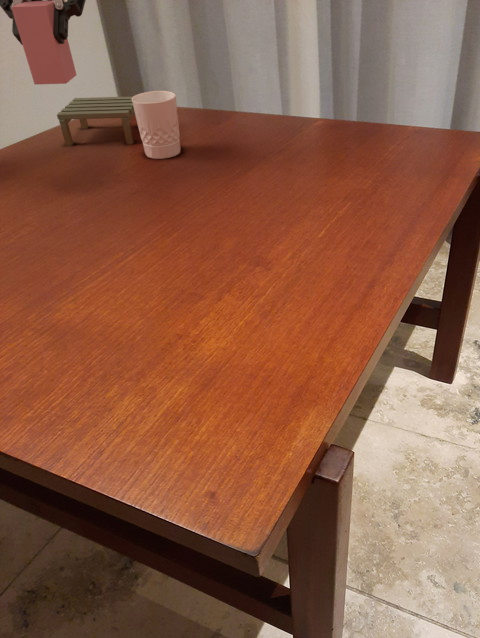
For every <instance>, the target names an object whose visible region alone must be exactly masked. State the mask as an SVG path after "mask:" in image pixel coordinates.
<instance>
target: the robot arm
mask: <svg viewBox="0 0 480 638" xmlns="http://www.w3.org/2000/svg"><path fill="white" fill-rule="evenodd" d="M24 1H25V2H27V1H43V0H0V8H1V9H2V11H3V12H4V13H5V15H6V16H7V17H8V18H9V19H11V20H12V24H11V27H12V28H11V32H12V35H13V36H14V38H16V40H17V41H18V42H19V43H20V46H23V45H22V41H21V38H20V35H19V31H18V28H17V25H16V21H15V18H14V15H13V11H12V8H11V7H12V6H15V5H17V4H20V3H23V2H24ZM53 2H54V5H55V7H56V11H54V24H53V35H54V37H55V39H56V40H57V42H58V43H59V44H64V40H67V39H68V37H69V21H70V19H71V17H74V16H75V17H81V16H82V15H83V11H84V8H85V4H86V0H53Z"/></svg>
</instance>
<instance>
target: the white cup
mask: <svg viewBox="0 0 480 638" xmlns="http://www.w3.org/2000/svg"><path fill="white" fill-rule="evenodd" d="M133 96H134V97H132V103H133V107H134V112H135V115H134V117H135V120H136V124H137V128H138V131H139V136H140V139H141V142H142V146H143V150H144V154H145V156H146V157H147V158H150V159H155V160H157V159H158V160H164V159H170V158H173V157H176V156H178V155H179V154H180V153H181V150H182V148H181V140H180V134H181V133H180V125H179V124H180V123H179V113H178V105H177V95H176V93H174V92H172V91H168V90H152V91H145V92H141V93H137V94H135V95H133Z"/></svg>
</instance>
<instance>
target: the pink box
mask: <svg viewBox="0 0 480 638" xmlns="http://www.w3.org/2000/svg"><path fill="white" fill-rule="evenodd" d="M11 8H12V11H13V15H14V18H15V21H16V25H17V28H18V31H19V35H20V38H21V41H22V45H21V46H22V47H23V51H24V54H25V57H26V61H27V64H28V68H29V71H30V75H31V76H32V80H33V84H34V85H59V84H60V85H61V84H62V85H63V84H64V85H65V84H68V83H69V82H70V81H72V80H73V79H74V78H75V77H76V76H77V71H76V66H75V64H74V60H73V55H72V51H71V47H70V44H69V39H68V38H67V40H64V44H59V43H58V42H57V40H56V39H55V37H54V35H53V24H54V11H56V7H55V5H54V2H53V0H42V1H27V2H25V1H24V2H23V3H20V4H17V5H15V6H12V7H11Z"/></svg>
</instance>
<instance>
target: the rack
mask: <svg viewBox="0 0 480 638" xmlns="http://www.w3.org/2000/svg"><path fill="white" fill-rule="evenodd" d="M134 96H135V95H133V96H103V97H102V96H97V97H74V98H73V99H72V101H70V102H69V103H68V104H66V105H65V107H64V108H62V109H61V110H60V111H59V112H58V113H57V114H56V117H57V120H58V121H59V126H60V129H61V133H62V136H63V140H64V144H65V147H72V146H73V145H74V140H73V137H72V132H71V129H70V126H69V123H70V122H71V121H72V120H79V124H80V127H81V130H87V129H89V123H88V120H96V119H97V120H98V119H120V120H121V123H122V129H123V132H124V138H125V142H126V145H133V144H134V143H135V141H134V136H133V131H132V125H131V121H132V120H133V118H134V117H135V112H134V107H133V103H132V97H134Z"/></svg>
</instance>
